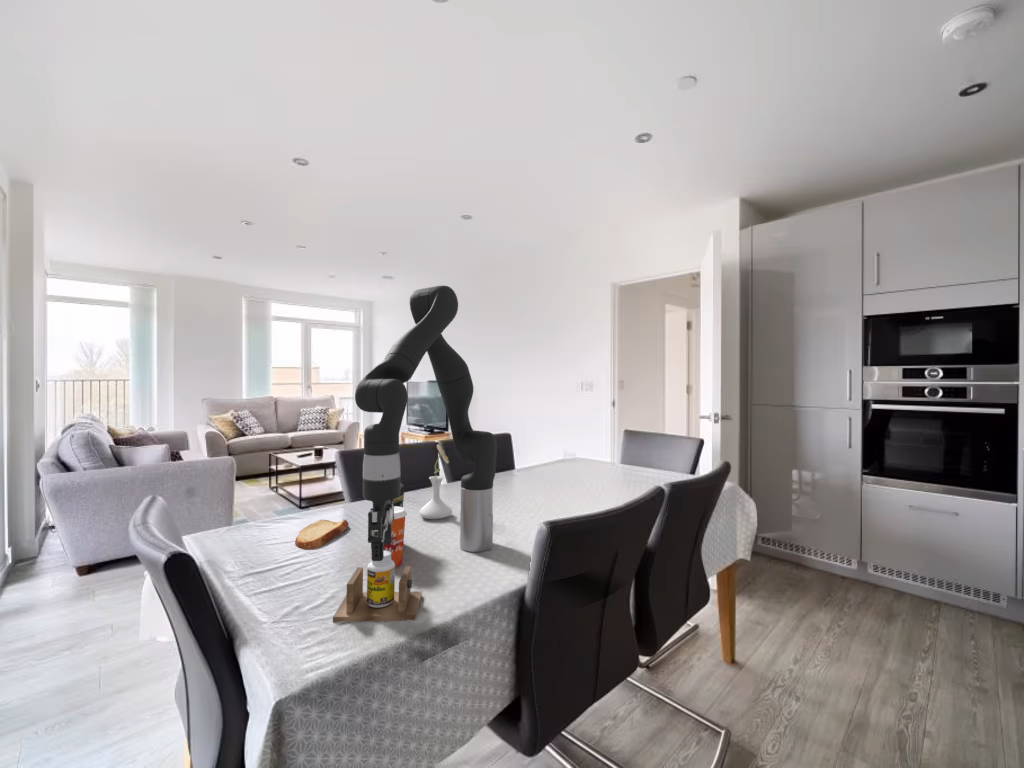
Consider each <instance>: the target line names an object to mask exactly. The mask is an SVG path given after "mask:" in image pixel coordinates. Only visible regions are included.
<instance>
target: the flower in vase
mask: <svg viewBox="0 0 1024 768" xmlns="http://www.w3.org/2000/svg"><path fill="white" fill-rule="evenodd" d="M436 448H437V451H438V453H439V456H438V457H437V459H436V461H435V464H434V472H433V474H434V475H432V476H429V477H428V479H429V480H430V482H431V486H432V497H431V499H430V500H429V501H428V502H427V503H426V504H424V505H423V506H422V508H420V509H419V513H418V514H419V515H420V517H422V518H424V519H428V520H429V519H430V520H440V519H444V518H447V517H450V516H451V515H452V514H453V509H452V507H451V506H449V505H448V504H447V503H446V502H444V501H443V500H442V498H441V497H440V496H441V495H440V487H441V483H442V480H443V479H444V476H442V475H437V473H439V472H440V471H441V469H440V468H437V465H438V464H437V463H438V462H439V459H440V457H442V460H444V462H445V463H446V464H449V463H450V461H449V457H448V456H447V455H446V454H445V453H446V452H445V450H443V449H442V446H441V445H440V444H439V443H438V444H436Z"/></svg>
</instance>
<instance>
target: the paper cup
mask: <svg viewBox="0 0 1024 768" xmlns="http://www.w3.org/2000/svg"><path fill="white" fill-rule="evenodd" d="M407 514H408V513H407V512H406V509H405V508H404V506H403V507H398V506H394V520H393V521H392V522H393V524H392V526H390V527H391V544H389V545H384V551H390V552H391V560H392V561H394V563H395V568H397V567H399V566H401V565H402V564H403V555H404V543H405V526H406V516H407Z"/></svg>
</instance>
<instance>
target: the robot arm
mask: <svg viewBox="0 0 1024 768" xmlns="http://www.w3.org/2000/svg"><path fill="white" fill-rule="evenodd" d="M409 309H410V313H411V317H412V319H413V321H414V323H415V325H414V326H412V327H411V328H409V330H407V331H406V332H405V333H403V334H402V335H401V336H400V337H399V338H398V339H396V341H395V342H394V343H393V345H392V347H391V348H390V349H389V351H388V353H387V354H386V355H385V357H384V359H383V360H382V361H381V362H380V363H378V364H376V366H374V367H373V369H372V370H371V371H369V372H368V373H367V374H366V375H364V376H363V378H362V379H361V380H360V381H359V383H358V384H357V387H356V390H355V391H354V392H355V393H354V400H355V403H356V406H357V407H358V409H360V410H361V411H363V412H366V413H378V414H379V413H382V415H381V417H380V418H381V419H380V420H379V422H378V423H373V424H370V425H368V426H366V427H365V429H364V430H363V431H364V432H363V459H362V460H363V461H362V497H363V498H362V499H364V500H366V501H368V502H369V501H370V502H372V508H370V511H368V513H367V519H368V520H367V523H368V524H367V542H368V543H369V544H371V543H372V549H371V558H372V561H382V560H383V558H384V545H389V544H391V527H390V526H392V524H393V522H392V521H393V520H394V499H396V498H398V497H399V496H400V482H401V459H400V458H401V457H400V431H401V428H402V424H403V423H402V422H403V419H404V415H405V412H406V408H407V403H408V399H409V397H408V395H409V394H408V390H407V387H406V385H405V383H407V382H408V381H409V380H411V378H412V377H413V375H414V374H415V372H416V370H417V368H418V367H419V365H420V364H421V361H422V359H423V357H424V356H425V354H426V353H427V355H428V358H429V361H430V363H431V367H432V370H433V374H434V377H435V382H436V383H437V386H438V391H439V394H440V396H441V398H442V401H443V404H444V408H445V412H446V416H447V420H448V423H449V426H450V427H449V428H450V431H451V437H452V442H453V446H454V450H455V453H456V455H457V457H458V458H459V460H461V461H463V462H466V463H472V464H474V468H473V472H471V473H468V474H464V475H463V476H461V479H460V519H459V520H460V521H459V523H460V526H459V527H460V529H459V531H460V533H459V535H460V536H459V537H460V538H459V546H460V549H461V550H463V551H466V552H470V553H471V552H473V553H474V552H475V553H480V552H484V551H485V552H486V551H489V550H490V551H491V550H493V544H494V543H493V541H494V539H493V538H494V537H493V535H494V533H493V532H494V531H493V530H494V514H493V513H494V512H493V511H494V510H493V506H494V500H493V499H494V497H493V496H494V480H495V476H496V472H497V471H496V467H497V466H496V465H497V453H498V452H497V449H498V443H497V439H496V437H495V435H494V434H493V433H492V432H490V431H482V430H475V429H473V427H472V425H471V422H470V418H469V409H470V405H471V402H472V399H473V394H474V384H473V379H472V376H471V373H470V370H469V367H468V364H467V363H466V361H465V360H464V359H463V358H462V356H461V355H460V354H459V353H458V352H457V351H456V350H455V349H454V348H452V345H450V344H449V343H448V342H447V340H446V339H445V337H444V336H443V334H442V333H443V332H444V331H445V329H446V328H447V327H448V326H449V325H450V324H451V323H452V321H454V320H455V318H456V316H457V314H458V310H459V300H458V297H457V294H456V292H455V290H454V289H453V288H452V287H450V286H449V285H436V286H431V287H425V288H420V289H415V290H413V292H412V293H411V294H410V296H409ZM376 531H378V536H374V534H375V532H376Z"/></svg>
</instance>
